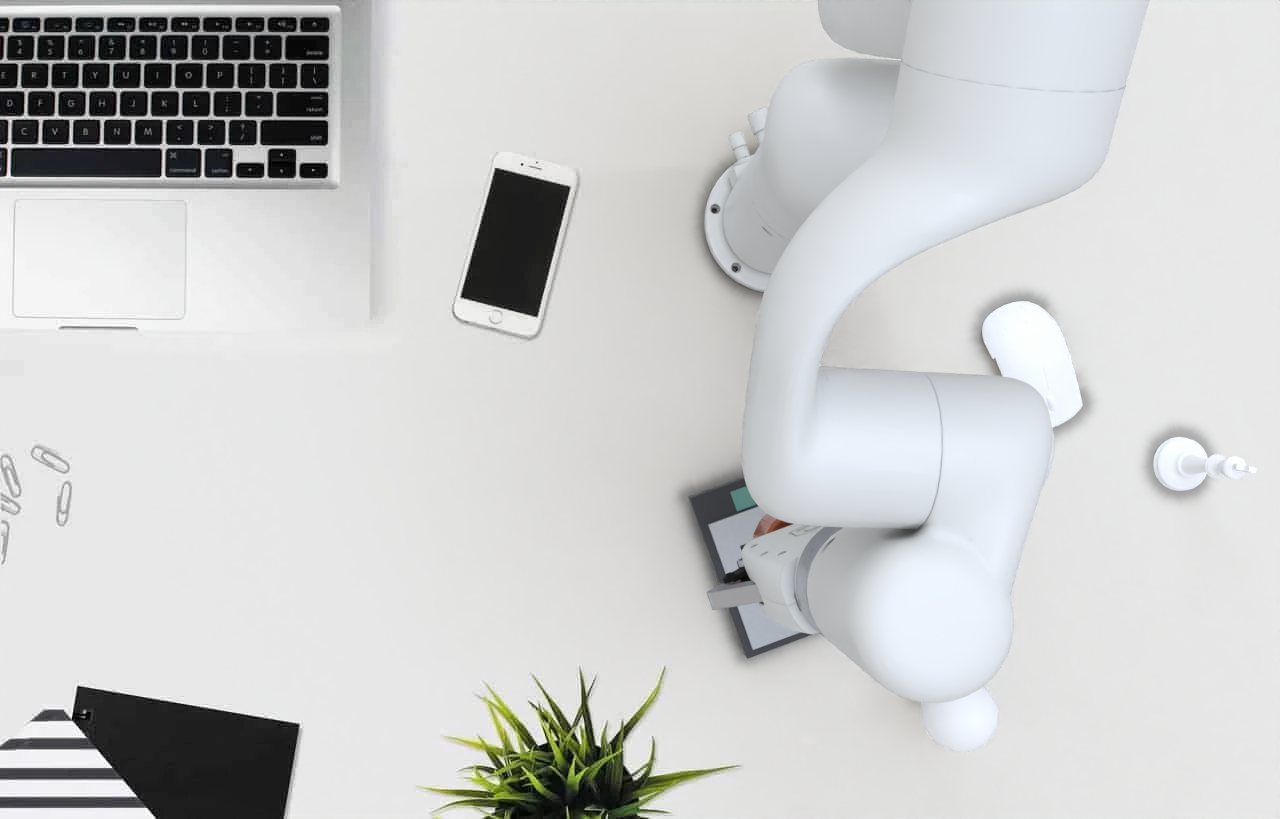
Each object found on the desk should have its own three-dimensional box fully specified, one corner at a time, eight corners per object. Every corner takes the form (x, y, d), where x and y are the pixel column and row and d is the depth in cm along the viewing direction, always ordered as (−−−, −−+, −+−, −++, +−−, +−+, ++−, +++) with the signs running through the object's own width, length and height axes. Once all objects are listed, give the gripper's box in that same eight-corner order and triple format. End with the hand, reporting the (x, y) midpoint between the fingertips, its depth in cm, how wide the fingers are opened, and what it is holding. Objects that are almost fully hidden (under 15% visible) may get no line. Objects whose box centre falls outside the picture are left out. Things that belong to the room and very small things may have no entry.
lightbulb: (890, 657, 90) (932, 689, 79) (956, 650, 90) (1007, 681, 79) (896, 724, 90) (938, 766, 79) (962, 718, 90) (1014, 758, 79)
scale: (688, 496, 89) (690, 498, 87) (823, 447, 90) (829, 448, 88) (744, 654, 89) (748, 660, 87) (879, 604, 90) (886, 609, 88)
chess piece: (1199, 495, 92) (1274, 504, 82) (1148, 484, 91) (1217, 492, 81) (1209, 442, 92) (1285, 445, 82) (1158, 432, 91) (1228, 433, 81)
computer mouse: (1022, 441, 91) (1033, 441, 88) (970, 319, 91) (980, 316, 88) (1088, 411, 91) (1101, 411, 89) (1037, 290, 91) (1049, 287, 89)
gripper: (986, 469, 56) (890, 460, 74) (697, 572, 55) (670, 538, 73) (1030, 594, 56) (923, 555, 74) (741, 700, 55) (704, 635, 73)
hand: (798, 547), depth 74 cm, fingers closed on bowl, 6 cm apart
